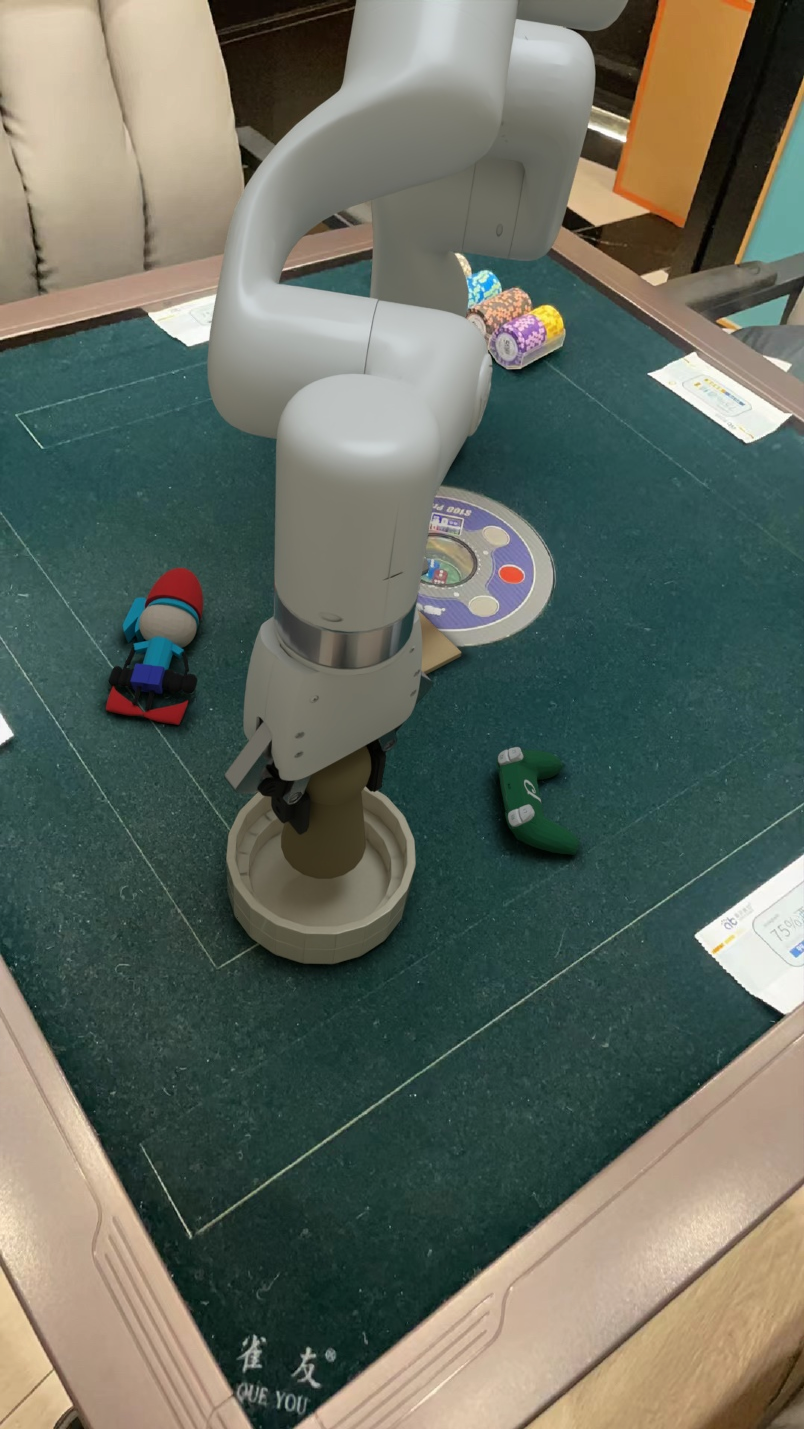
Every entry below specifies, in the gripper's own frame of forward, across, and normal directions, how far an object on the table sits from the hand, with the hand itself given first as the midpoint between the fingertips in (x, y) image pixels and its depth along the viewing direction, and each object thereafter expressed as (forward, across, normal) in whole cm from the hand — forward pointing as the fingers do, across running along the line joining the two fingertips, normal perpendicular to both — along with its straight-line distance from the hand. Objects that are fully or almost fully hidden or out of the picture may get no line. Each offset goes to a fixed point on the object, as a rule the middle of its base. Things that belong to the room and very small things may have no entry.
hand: (327, 795), depth 70 cm
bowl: (+11, 0, 0) cm, 11 cm away
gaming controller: (+11, -18, +4) cm, 21 cm away
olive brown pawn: (+6, 0, 0) cm, 6 cm away
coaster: (+11, -19, -16) cm, 27 cm away
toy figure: (+11, -2, -26) cm, 28 cm away
